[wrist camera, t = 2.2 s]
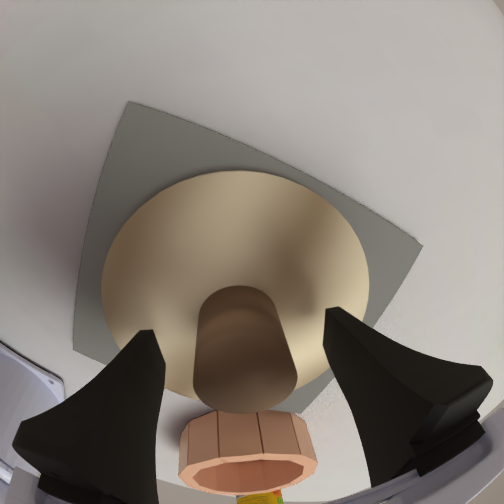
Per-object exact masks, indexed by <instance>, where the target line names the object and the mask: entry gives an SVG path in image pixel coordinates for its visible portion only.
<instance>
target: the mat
mask: <svg viewBox="0 0 504 504" xmlns="http://www.w3.org/2000/svg"><path fill="white" fill-rule="evenodd" d="M233 170H245V171H255V172H263V173H267V174H271V175H275V176H279V177H283V178H285V179H288V180H290V181H293V182H295V183H297V184H300V185H302V186H304V187H306V188H308V189H309V190H311V191H313V192H314V193H316V194H318V195H319V196H321V197H322V198H324V199H325V200H326V201H327V202H329V203H330V204H331V205H332V206H333V207H334V208H336V209H337V210H338V211H339V212H340V213H341V215H342V216H343V217H344V218H345V219H346V220H347V222H348V223H349V224H350V226H351V227H352V229H353V230H354V232H355V234H356V235H357V237H358V239H359V241H360V244H361V246H362V248H363V251H364V253H365V257H366V261H367V266H368V273H369V296H368V302H367V307H366V311H365V315H364V317H363V320H362V322H363V323H365V324H366V325H368V326H369V327H371V328H373V327H374V325H375V324H376V322H377V321H378V319H379V318H380V317H381V315H382V314H383V312H384V311H385V309H386V308H387V306H388V305H389V303H390V302H391V300H392V299H393V297H394V295H395V294H396V292H397V291H398V289H399V287H400V286H401V284H402V283H403V281H404V279H405V278H406V276H407V274H408V272H409V271H410V269H411V267H412V265H413V264H414V262H415V260H416V258H417V257H418V255H419V253H420V251H421V249H422V247H423V245H421V244H420V243H419V242H417V241H416V240H414V239H413V238H411V237H410V236H408V235H407V234H405V233H404V232H402V231H401V230H399V229H398V228H396V227H395V226H393V225H392V224H390V223H389V222H387V221H386V220H384V219H383V218H381V217H379V216H378V215H376V214H375V213H373V212H371V211H370V210H368V209H366V208H365V207H363V206H361V205H360V204H358V203H356V202H355V201H353V200H351V199H350V198H348V197H346V196H344V195H343V194H341V193H339V192H337V191H336V190H334V189H332V188H330V187H329V186H327V185H325V184H323V183H321V182H319V181H318V180H316V179H314V178H312V177H310V176H308V175H306V174H304V173H302V172H300V171H299V170H297V169H295V168H293V167H291V166H289V165H287V164H285V163H283V162H281V161H279V160H276V159H274V158H272V157H270V156H268V155H266V154H264V153H262V152H260V151H257V150H255V149H253V148H251V147H249V146H246V145H244V144H242V143H240V142H237V141H235V140H233V139H230V138H228V137H226V136H223V135H221V134H218V133H216V132H214V131H211V130H209V129H206V128H204V127H201V126H198V125H196V124H193V123H191V122H188V121H185V120H183V119H180V118H177V117H174V116H172V115H169V114H166V113H163V112H160V111H157V110H154V109H151V108H148V107H145V106H142V105H139V104H135V103H132V102H129V103H128V105H127V107H126V109H125V112H124V114H123V116H122V119H121V121H120V124H119V126H118V129H117V131H116V134H115V136H114V139H113V142H112V144H111V147H110V150H109V153H108V156H107V158H106V161H105V164H104V168H103V171H102V174H101V177H100V180H99V184H98V187H97V191H96V194H95V198H94V202H93V206H92V210H91V214H90V218H89V222H88V227H87V231H86V236H85V241H84V246H83V252H82V258H81V264H80V270H79V277H78V285H77V294H76V304H75V316H74V333H73V350H74V351H76V352H79V353H81V354H83V355H85V356H87V357H89V358H92V359H94V360H96V361H98V362H101V363H103V364H105V365H108V364H109V363H110V362H111V361H112V360H113V359H114V358H115V357H116V355H117V354H118V353H119V352H120V351H121V349H120V348H119V347H118V345H117V344H116V342H115V340H114V338H113V336H112V334H111V332H110V330H109V328H108V325H107V322H106V319H105V316H104V311H103V305H102V297H101V282H102V274H103V268H104V264H105V261H106V258H107V254H108V252H109V250H110V247H111V245H112V243H113V241H114V239H115V237H116V236H117V234H118V233H119V231H120V230H121V228H122V227H123V226H124V224H125V223H126V221H127V220H128V219H129V218H130V217H131V216H132V215H133V214H134V213H135V212H136V211H137V210H138V209H139V208H140V207H141V206H142V205H144V204H145V203H146V202H148V201H149V200H150V199H152V198H153V197H154V196H156V195H157V194H159V193H160V192H161V191H163V190H165V189H167V188H169V187H171V186H173V185H175V184H176V183H178V182H181V181H184V180H186V179H189V178H192V177H195V176H198V175H202V174H207V173H213V172H218V171H233ZM334 377H335V376H334V374H333V372H332V370H331V368H329V369H327V370H326V371H325V372H324V373H322V374H321V375H320V376H318V377H317V378H316V379H314V380H312V381H311V382H309V383H307V384H306V385H304V386H302V387H300V388H298V389H296V390H294V391H293V392H292V393H291V394H290V395H289V396H288V397H287V398H286V399H285V400H284V401H282V402H281V403H279V404H278V405H276V406H274V407H272V408H269V409H268V410H275V411H283V412H291V413H302V412H303V411H304V410H305V409H306V408H307V407H308V406H309V405H310V404H311V403H312V401H313V400H314V399H315V398H316V397H317V396H318V395H319V394H320V393H321V392H322V391H323V389H324V388H325V387H326V386H327V385H328V384H329V383H330V381H331V380H332V379H333V378H334Z"/></svg>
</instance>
